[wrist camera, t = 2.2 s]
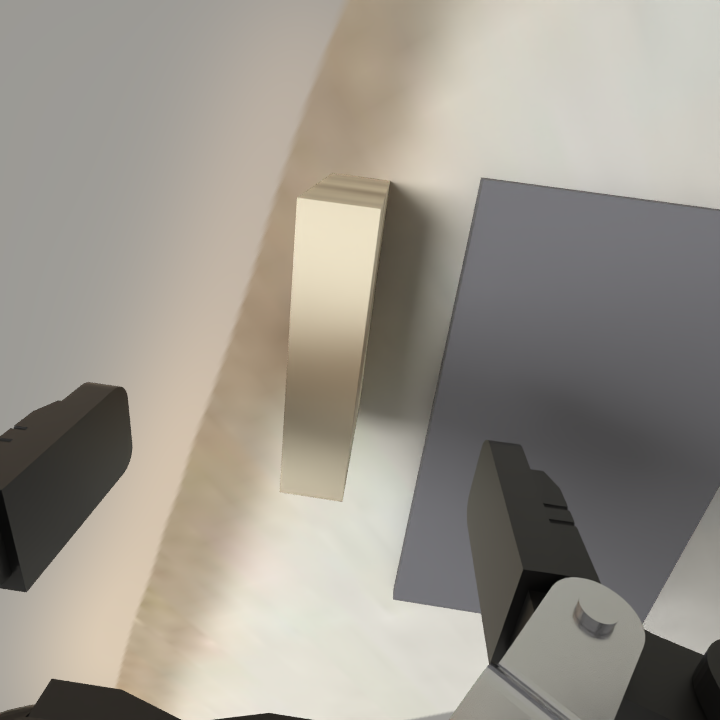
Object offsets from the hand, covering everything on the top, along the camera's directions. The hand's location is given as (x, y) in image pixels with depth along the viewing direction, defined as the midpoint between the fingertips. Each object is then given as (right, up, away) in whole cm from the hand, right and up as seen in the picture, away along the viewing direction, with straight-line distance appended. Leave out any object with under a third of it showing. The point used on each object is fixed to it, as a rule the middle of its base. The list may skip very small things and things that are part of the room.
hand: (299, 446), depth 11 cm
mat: (+10, -2, +10) cm, 14 cm away
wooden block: (+1, +4, +8) cm, 9 cm away
